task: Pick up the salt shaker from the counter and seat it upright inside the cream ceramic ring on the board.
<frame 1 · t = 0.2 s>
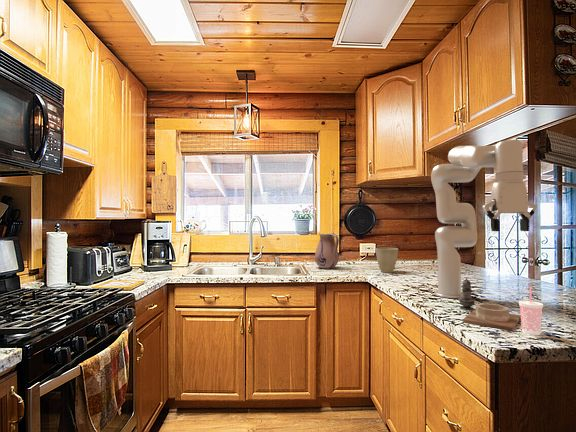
hand: (510, 231, 109), 31 cm above the countertop, tool pointing down, fingers open, 9 cm apart
plant pot: (387, 272, 225), on the countertop
board: (492, 320, 115), on the countertop
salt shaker: (467, 309, 130), on the countertop
beverage cup: (531, 333, 102), on the countertop
ceramic pitcher: (328, 268, 245), on the countertop
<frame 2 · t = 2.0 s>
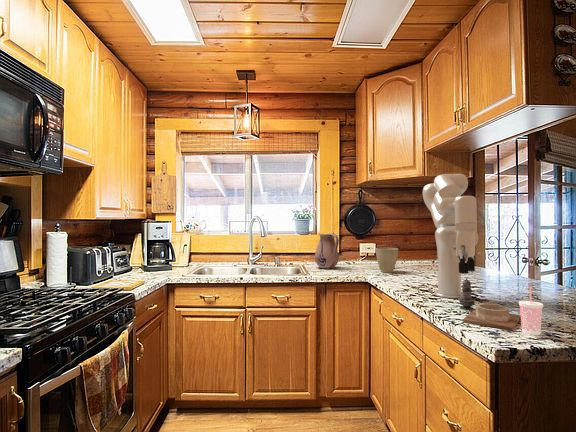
hand: (467, 272, 130), 14 cm above the countertop, tool pointing down, fingers open, 9 cm apart
nothing on the countertop moved.
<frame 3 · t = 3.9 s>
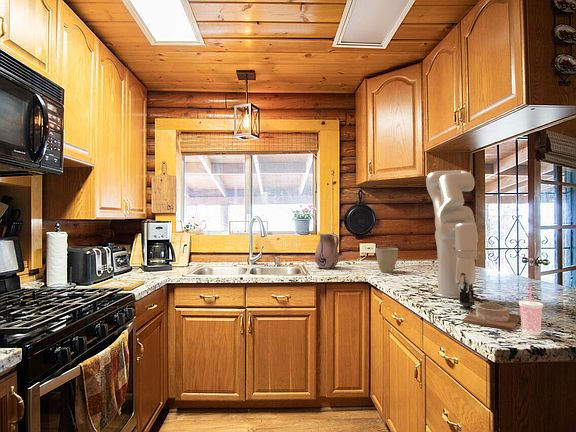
hand: (466, 300, 130), 3 cm above the countertop, tool pointing down, fingers closed on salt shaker, 5 cm apart
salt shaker: (467, 309, 130), on the countertop, touching gripper
everything else where it was.
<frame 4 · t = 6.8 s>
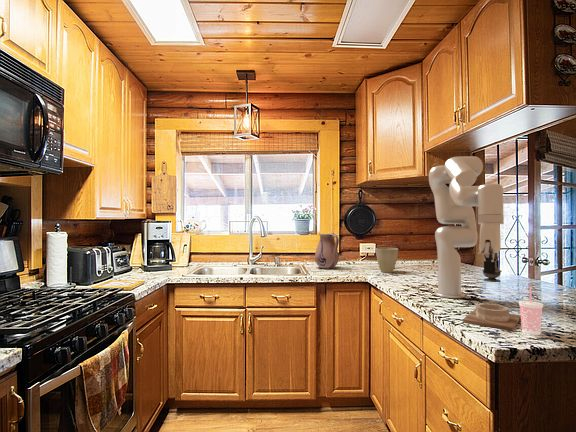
hand: (491, 272, 115), 16 cm above the countertop, tool pointing down, fingers closed on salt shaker, 5 cm apart
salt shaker: (491, 281, 115), point 13 cm above the countertop, touching gripper
everything else where it was.
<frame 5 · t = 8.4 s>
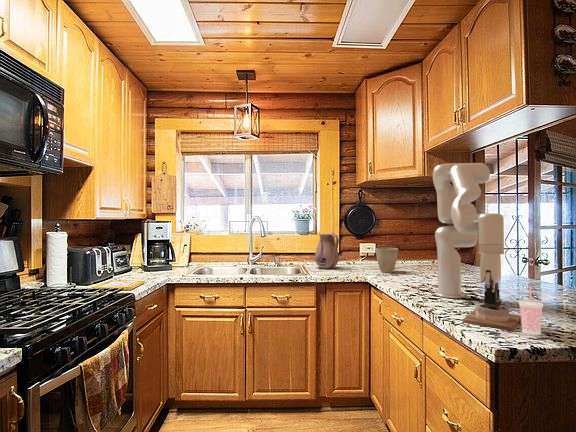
hand: (492, 301, 115), 6 cm above the countertop, tool pointing down, fingers closed on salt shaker, 5 cm apart
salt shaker: (492, 310, 115), point 3 cm above the countertop, touching gripper
everything else where it was.
when the fingers open (5 cm above the countertop, at t = 9.5 s): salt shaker drops 1 cm, resting on board.
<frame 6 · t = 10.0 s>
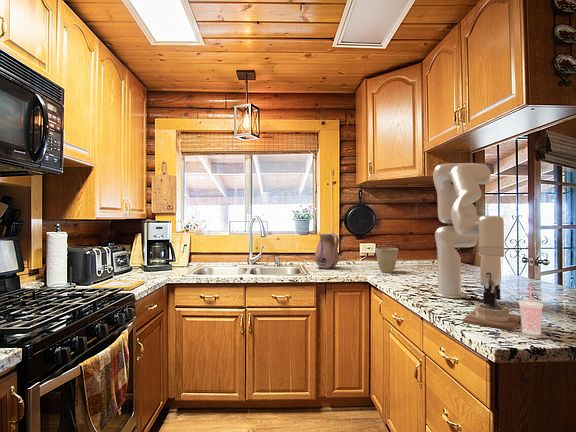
hand: (492, 301, 115), 6 cm above the countertop, tool pointing down, fingers open, 9 cm apart
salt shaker: (492, 317, 115), point 1 cm above the countertop, touching board
everything else where it was.
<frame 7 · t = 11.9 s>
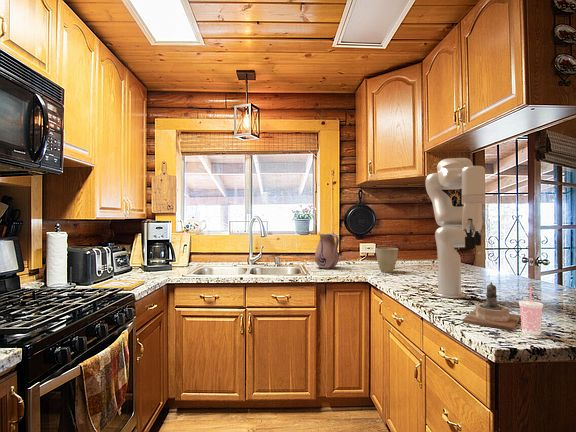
hand: (473, 246, 123), 25 cm above the countertop, tool pointing down, fingers open, 9 cm apart
nothing on the countertop moved.
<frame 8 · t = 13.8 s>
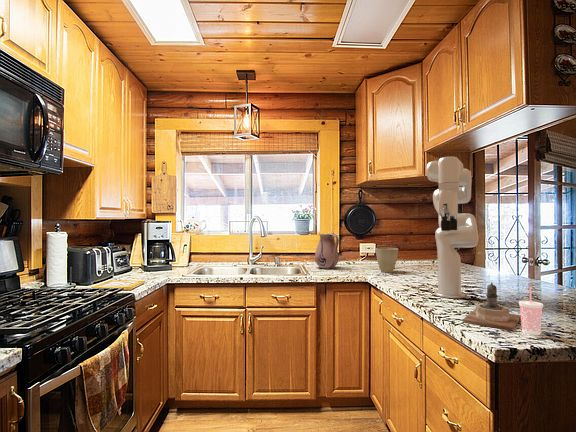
hand: (449, 230, 135), 30 cm above the countertop, tool pointing down, fingers open, 9 cm apart
nothing on the countertop moved.
at the end: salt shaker 0.2 cm from the board (horizontally); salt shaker tilted 0°; the gripper is holding nothing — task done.
